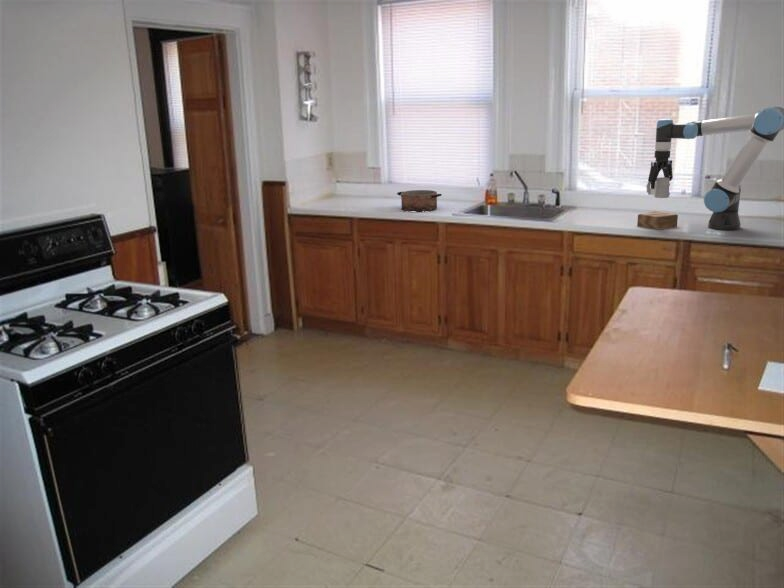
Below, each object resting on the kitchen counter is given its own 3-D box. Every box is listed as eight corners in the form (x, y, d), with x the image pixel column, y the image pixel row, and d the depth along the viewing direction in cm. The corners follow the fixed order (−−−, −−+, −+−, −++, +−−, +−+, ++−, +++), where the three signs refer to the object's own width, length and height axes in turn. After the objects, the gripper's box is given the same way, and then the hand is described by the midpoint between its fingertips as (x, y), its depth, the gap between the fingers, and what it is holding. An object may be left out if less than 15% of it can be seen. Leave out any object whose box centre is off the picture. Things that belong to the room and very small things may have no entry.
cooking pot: (448, 208, 448) (448, 191, 445) (431, 213, 430) (431, 196, 427) (408, 205, 464) (407, 189, 461) (389, 210, 446) (389, 193, 443)
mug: (671, 198, 365) (673, 174, 361) (647, 198, 366) (648, 174, 363) (667, 195, 372) (669, 172, 369) (644, 196, 374) (645, 173, 370)
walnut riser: (676, 226, 371) (677, 214, 370) (659, 229, 364) (660, 217, 363) (654, 222, 383) (655, 211, 381) (637, 225, 376) (638, 214, 374)
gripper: (670, 148, 371) (666, 191, 377) (642, 151, 360) (639, 195, 367) (682, 149, 365) (679, 192, 371) (654, 152, 354) (651, 197, 360)
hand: (659, 194), depth 369 cm, fingers closed on mug, 9 cm apart
